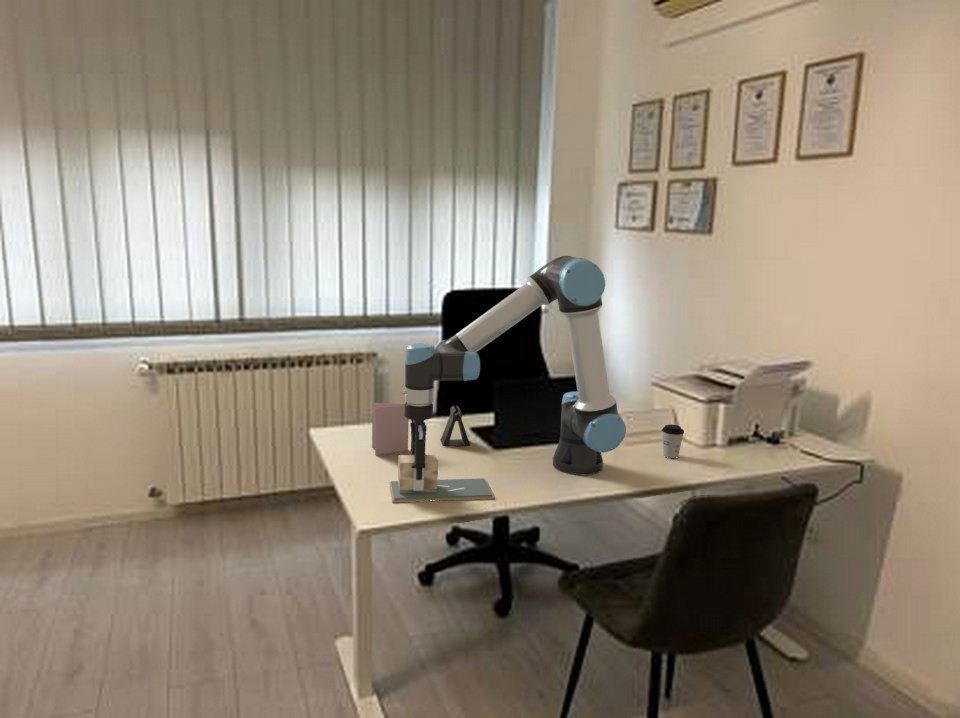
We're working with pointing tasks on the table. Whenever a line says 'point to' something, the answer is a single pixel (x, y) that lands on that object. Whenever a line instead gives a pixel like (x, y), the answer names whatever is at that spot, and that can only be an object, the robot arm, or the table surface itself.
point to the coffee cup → (672, 440)
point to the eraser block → (407, 473)
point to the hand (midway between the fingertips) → (417, 485)
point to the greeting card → (389, 428)
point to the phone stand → (449, 428)
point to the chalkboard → (446, 491)
